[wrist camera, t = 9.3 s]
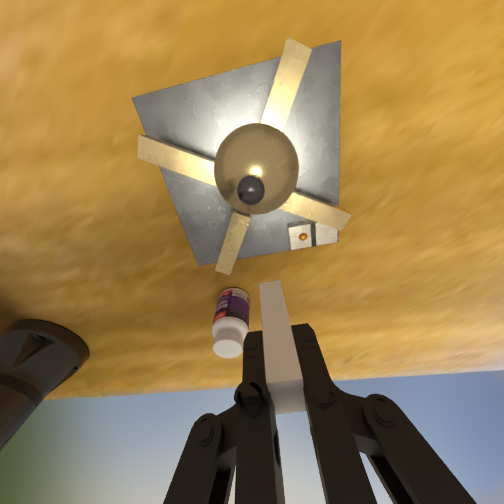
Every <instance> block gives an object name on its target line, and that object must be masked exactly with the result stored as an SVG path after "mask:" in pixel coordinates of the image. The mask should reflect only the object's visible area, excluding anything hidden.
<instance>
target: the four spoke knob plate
mask: <svg viewBox="0 0 504 504" xmlns="http://www.w3.org/2000/svg"><path fill="white" fill-rule="evenodd" d="M311 51H312V49H310V48H308V47H306V46H304V45H303V44H301V43H299V42H297V41H295V40H293V39H291V38H289V37H288V38H287V41H286V44H285V47H284V50H283V54H282V57H281V60H280V63H279V67H278V70H277V73H276V76H275V79H274V83H273V86H272V89H271V92H270V95H269V99H268V102H267V105H266V108H265V111H264V115H263V118H262V121H261V123H251V124H246V125H243V126H240V127H238V128H236V129H235V130H233V131H232V132H231V133H230V134H229V135H227V136H226V138H225V139H224V140H223V141H222V143H221V145H220V146H219V148H218V151H217V153H216V157H215V160H213V159H210V158H207V157H205V156H202V155H200V154H197V153H194V152H192V151H189V150H186V149H184V148H181V147H178V146H176V145H173V144H170V143H168V142H165V141H162V140H160V139H157V138H154V137H152V136H149V135H138V150H137V158H138V159H141V160H144V161H147V162H149V163H152V164H155V165H158V166H161V167H163V168H166V169H169V170H172V171H175V172H177V173H180V174H183V175H186V176H189V177H192V178H194V179H197V180H200V181H203V182H206V183H208V184H211V185H214V186H217V188H218V190H219V192H220V194H221V195H222V197H223V198H224V199H225V201H226V202H227V203H228V204H229V205H231V206H232V207H233V208H234V211H233V214H232V217H231V220H230V223H229V227H228V230H227V233H226V236H225V239H224V243H223V246H222V249H221V252H220V255H219V259H218V262H217V265H216V268H215V271H217V272H221V273H224V274H228V275H230V274H231V271H232V268H233V266H234V263H235V260H236V257H237V255H238V252H239V249H240V246H241V244H242V241H243V238H244V235H245V233H246V230H247V227H248V224H249V222H250V219H251V214H253V215H259V214H265V213H269V212H271V211H274V210H276V209H277V208H279V209H281V210H284V211H287V212H290V213H293V214H295V215H298V216H301V217H304V218H307V219H309V220H312V221H315V222H318V223H321V224H323V225H326V226H329V227H332V228H335V229H338V230H340V231H342V230H343V228H344V226H345V225H346V223H347V222H348V220H349V218H350V217H351V215H352V214H350V213H349V212H348V211H346V210H345V209H343V208H340V207H338V206H335V205H332V204H330V203H327V202H324V201H322V200H319V199H316V198H314V197H311V196H308V195H306V194H303V193H300V192H298V191H295V190H294V189H295V187H296V184H297V180H298V176H299V161H298V156H297V153H296V150H295V148H294V146H293V144H292V142H291V141H290V140H289V138H288V137H287V136H286V135H285V134H284V133H283V132H282V131H283V128H284V125H285V123H286V120H287V117H288V115H289V112H290V109H291V106H292V104H293V101H294V98H295V95H296V93H297V90H298V87H299V84H300V82H301V79H302V76H303V73H304V71H305V68H306V65H307V62H308V60H309V57H310V54H311Z"/></svg>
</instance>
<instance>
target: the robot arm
mask: <svg viewBox="0 0 504 504" xmlns="http://www.w3.org/2000/svg"><path fill="white" fill-rule="evenodd" d="M259 289H260V303H261V318H262V330H261V331H255V332H248V333H247V334H246V337H245V339H244V343H243V377H242V383H241V384H239V386H238V387H237V389H236V391H235V395H234V400H235V402H236V404H235V405H234V406H233V407H231V408H229V409H228V410H226V411H224V412H222V413H220V414H219V415H217V416H216V415H214V414H212V413H208V414H204V415H203V416H201V417H200V418H199V419H198V420H197V421H196V422H195V423H194V425H193V427H192V429H191V431H190V434H189V436H188V439H187V442H186V444H185V447H184V450H183V452H182V455H181V458H180V460H179V463H178V466H177V468H176V471H175V473H174V476H173V479H172V482H171V484H170V487H169V489H168V492H167V495H166V497H165V500H164V503H163V504H228V501H229V496H230V491H231V486H232V481H233V476H234V471H235V466H236V482H235V504H285V496H284V487H283V477H282V467H281V457H280V448H279V437H278V430H277V426H276V418H275V414H282V413H291V412H300V411H307V414H308V419H309V424H310V432H311V435H312V440H313V444H314V448H315V453H316V458H317V463H318V467H319V473H320V477H321V482H322V487H323V491H324V496H325V501H326V504H377V501H376V499H375V496H374V493H373V490H372V487H371V485H370V482H369V479H368V476H367V473H366V471H365V468H364V465H363V462H362V459H361V457H360V454H359V452H362V453H365V454H366V456H367V458H368V459H369V461H370V463H371V465H372V466H373V468H374V470H375V472H376V474H377V475H378V477H379V479H380V481H381V482H382V484H383V486H384V488H385V490H386V491H387V493H388V495H389V497H390V498H391V500H392V502H393V504H477V503H476V502H475V501H474V500H473V498H472V497H471V496H470V495H469V493H468V492H467V491H466V490H465V488H464V487H463V486H462V485H461V483H460V482H459V481H458V480H457V478H456V477H455V476H454V475H453V473H452V472H451V471H450V470H449V469H448V467H447V466H446V465H445V464H444V462H443V461H442V460H441V459H440V457H439V456H438V455H437V454H436V452H435V451H434V450H433V449H432V447H431V446H430V445H429V444H428V442H427V441H426V440H425V439H424V437H423V436H422V435H421V434H420V433H419V431H418V430H417V429H416V427H415V426H414V425H413V424H412V423H411V421H410V420H409V419H408V418H407V416H406V415H405V414H404V413H403V411H402V410H401V409H400V408H399V407H398V406H397V405H396V404H395V403H394V402H393V401H392V400H391V399H389V398H387V397H386V396H384V395H379V394H371V395H369V396H368V397H366V398H363V397H359V396H355V395H351V394H348V393H345V392H343V391H342V390H340V389H339V388H338V387H337V386H336V385H335V384H334V383H333V382H332V380H331V378H330V376H329V373H328V370H327V367H326V364H325V361H324V358H323V356H322V353H321V350H320V347H319V344H318V341H317V338H316V335H315V333H314V330H313V329H312V328H311V327H310V326H309V324H308V323H305V324H299V325H292V326H291V325H290V321H289V316H288V312H287V308H286V303H285V299H284V295H283V290H282V286H281V281H280V280H277V281H271V282H265V283H259ZM88 357H89V351H88V348H87V346H86V345H85V343H84V342H83V341H82V340H81V339H80V338H79V337H78V336H76V335H75V334H73V333H72V332H70V331H69V330H67V329H65V328H63V327H60V326H58V325H55V324H52V323H49V322H45V321H40V320H21V321H18V322H15V323H14V324H12V325H11V326H9V327H8V328H7V329H5V330H4V331H3V332H2V333H1V334H0V451H1V450H2V449H3V448H4V447H5V446H6V444H7V443H8V442H9V441H10V439H11V438H12V437H13V436H14V434H15V433H16V432H17V431H18V430H19V428H20V427H21V426H22V425H23V424H24V422H25V421H26V420H27V419H28V417H29V416H30V415H31V414H32V412H33V411H34V410H35V408H36V407H37V406H38V405H39V404H40V403H41V402H42V400H43V399H44V398H45V397H46V396H47V395H48V394H49V393H51V392H52V391H53V390H54V389H56V388H57V387H58V386H59V385H61V384H62V383H63V382H64V381H66V380H67V379H68V378H69V377H71V376H72V375H73V374H74V373H76V372H77V371H78V370H79V369H80V368H81V367H82V365H83V364H84V363H85V361H86V360H87V359H88Z"/></svg>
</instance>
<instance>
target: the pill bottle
mask: <svg viewBox="0 0 504 504" xmlns="http://www.w3.org/2000/svg"><path fill="white" fill-rule="evenodd" d="M249 304H250V301H249V296H248V294H247V293H246V292H245V291H243V290H241V289H239V288H228V289H226V290H224V291H223V292H222V293H221V294H220V296H219V300H218V304H217V308H216V312H215V316H214V321H213V325H212V335H213V337H214V338H215V339H214V343H213V351H214V352H215V354H217V355H218V356H220V357H223V358H234V357H237V356H239V355H240V354H241V353H242V349H243V341H244V339H245V337H246V334H247V333H248V330H249Z"/></svg>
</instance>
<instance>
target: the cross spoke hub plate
mask: <svg viewBox="0 0 504 504" xmlns="http://www.w3.org/2000/svg"><path fill="white" fill-rule="evenodd" d="M311 49H312V51H311V54H310V57H309V60H308V62H307V65H306V68H305V71H304V73H303V76H302V79H301V82H300V84H299V87H298V90H297V93H296V95H295V98H294V101H293V104H292V106H291V109H290V112H289V115H288V117H287V120H286V123H285V125H284V128H283V131H282V132H283V133H284V134H285V135H286V136H287V137H288V138H289V140H290V141H291V142H292V144H293V146H294V148H295V150H296V153H297V156H298V161H299V176H298V180H297V184H296V187H295V189H294V190H295V191H298V192H300V193H303V194H306V195H308V196H311V197H314V198H316V199H319V200H322V201H324V202H327V203H330V204H332V205H335V206H338V207H339V151H340V78H341V40H340V41H336V42H333V43H329V44H325V45H322V46H318V47H315V48H311ZM280 60H281V57H278V58H275V59H271V60H267V61H264V62H260V63H256V64H253V65H249V66H245V67H242V68H238V69H235V70H231V71H227V72H224V73H220V74H216V75H213V76H209V77H206V78H202V79H198V80H195V81H191V82H187V83H184V84H180V85H176V86H173V87H169V88H166V89H162V90H158V91H155V92H151V93H147V94H144V95H140V96H136V97H133V98H132V100H133V103H134V105H135V108H136V110H137V113H138V115H139V118H140V120H141V123H142V125H143V128H144V130H145V133H146V135H149V136H152V137H154V138H157V139H160V140H162V141H165V142H168V143H170V144H173V145H176V146H178V147H181V148H184V149H186V150H189V151H192V152H194V153H197V154H200V155H202V156H205V157H207V158H210V159H213V160H215V157H216V153H217V151H218V148H219V146H220V145H221V143H222V141H223V140H224V139H225V138H226V136H227V135H229V134H230V133H231V132H232V131H233V130H235V129H236V128H238V127H240V126H243V125H246V124H251V123H261V121H262V118H263V115H264V111H265V108H266V105H267V102H268V99H269V95H270V92H271V89H272V86H273V83H274V79H275V76H276V73H277V70H278V67H279V63H280ZM159 168H160V170H161V173H162V175H163V178H164V180H165V183H166V185H167V188H168V190H169V193H170V195H171V198H172V200H173V203H174V205H175V208H176V211H177V213H178V216H179V218H180V221H181V223H182V226H183V228H184V231H185V233H186V236H187V238H188V241H189V243H190V246H191V248H192V251H193V253H194V256H195V258H196V261H197V263H198V266H200V265H206V264H211V263H217V262H218V259H219V255H220V252H221V249H222V246H223V243H224V239H225V236H226V233H227V230H228V227H229V223H230V220H231V217H232V214H233V211H234V208H233V207H232V206H231V205H229V204H228V203H227V202H226V201H225V199H224V198H223V197H222V195H221V194H220V192H219V190H218V188H217V186H214V185H211V184H208V183H206V182H203V181H200V180H197V179H194V178H192V177H189V176H186V175H183V174H180V173H177V172H175V171H172V170H169V169H166V168H163V167H161V166H159ZM336 242H338V229H335V228H332V227H329V226H326V225H323V224H321V223H318V222H315V221H312V220H309V219H307V218H304V217H301V216H298V215H295V214H293V213H290V212H287V211H284V210H281V209H279V208H277V209H276V210H274V211H271V212H269V213H265V214H259V215H253V214H251V219H250V222H249V224H248V227H247V230H246V233H245V235H244V238H243V241H242V244H241V246H240V249H239V252H238V255H237V257H236V259H241V258H247V257H253V256H259V255H265V254H271V253H277V252H283V251H289V250H294V249H300V248H306V247H313V246H318V245H324V244H330V243H336Z"/></svg>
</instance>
